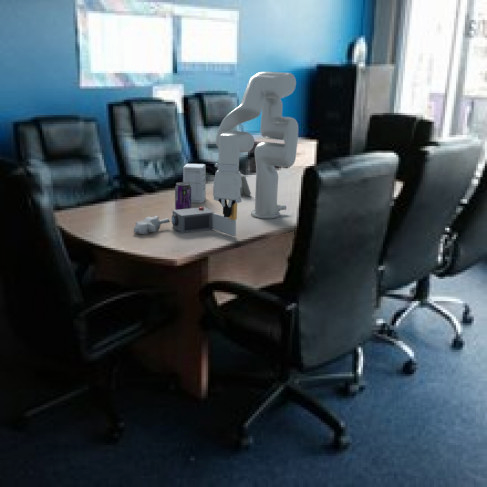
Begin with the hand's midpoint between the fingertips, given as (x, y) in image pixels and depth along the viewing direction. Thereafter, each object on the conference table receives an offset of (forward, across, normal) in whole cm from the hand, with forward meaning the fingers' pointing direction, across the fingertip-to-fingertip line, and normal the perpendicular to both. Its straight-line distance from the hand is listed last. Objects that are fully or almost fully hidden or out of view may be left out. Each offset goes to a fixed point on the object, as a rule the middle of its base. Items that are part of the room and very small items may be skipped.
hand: (227, 216), depth 215 cm
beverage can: (+8, -31, +32) cm, 45 cm away
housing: (+8, -16, +7) cm, 20 cm away
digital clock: (+8, -18, +74) cm, 77 cm away
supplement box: (+8, -33, +51) cm, 61 cm away
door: (+8, -3, +5) cm, 10 cm away
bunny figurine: (+9, -31, -2) cm, 32 cm away
